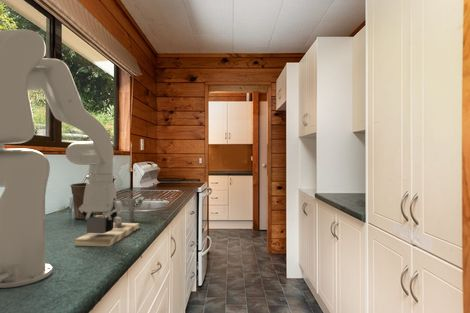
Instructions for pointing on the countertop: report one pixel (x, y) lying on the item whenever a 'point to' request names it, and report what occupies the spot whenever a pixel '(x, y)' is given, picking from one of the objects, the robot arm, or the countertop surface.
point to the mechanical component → (131, 205)
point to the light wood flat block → (108, 234)
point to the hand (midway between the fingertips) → (100, 230)
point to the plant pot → (79, 199)
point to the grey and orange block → (97, 224)
